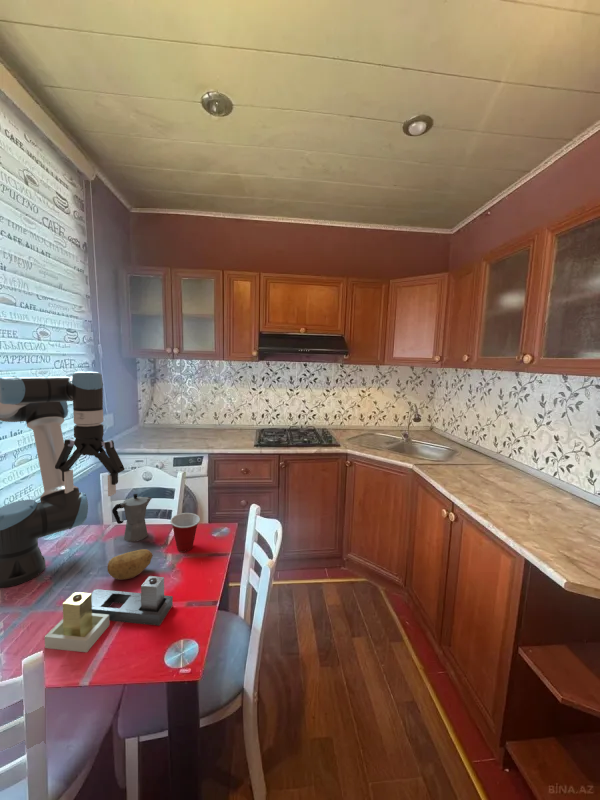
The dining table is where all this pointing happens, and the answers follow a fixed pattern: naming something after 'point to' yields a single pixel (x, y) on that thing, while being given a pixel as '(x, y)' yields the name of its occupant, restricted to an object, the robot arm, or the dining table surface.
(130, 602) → the rail
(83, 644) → the parts tray
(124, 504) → the coffeepot
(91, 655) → the dining table surface
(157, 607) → the square rod with stud
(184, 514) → the plastic cup
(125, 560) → the potato
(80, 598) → the block with metal knob
